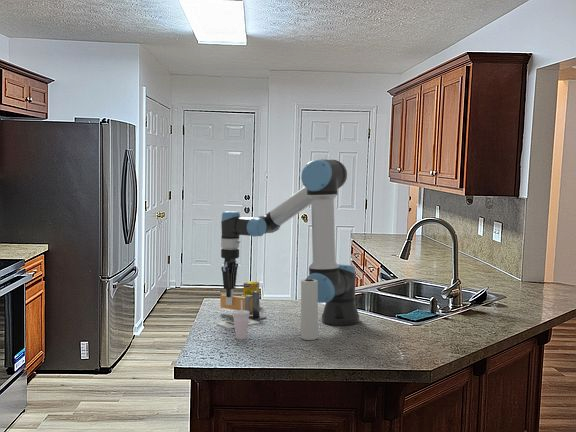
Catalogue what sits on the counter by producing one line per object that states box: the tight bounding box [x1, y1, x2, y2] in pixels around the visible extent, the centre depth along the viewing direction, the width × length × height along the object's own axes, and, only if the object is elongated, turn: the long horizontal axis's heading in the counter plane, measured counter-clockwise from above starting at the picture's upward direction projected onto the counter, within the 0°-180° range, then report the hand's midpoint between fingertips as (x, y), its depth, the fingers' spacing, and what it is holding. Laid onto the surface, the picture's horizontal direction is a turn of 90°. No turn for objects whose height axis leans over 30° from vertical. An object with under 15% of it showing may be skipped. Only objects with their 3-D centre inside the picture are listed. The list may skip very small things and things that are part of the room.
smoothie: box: [231, 300, 251, 340], centre depth 238 cm, size 6×6×14 cm
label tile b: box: [216, 320, 235, 330], centre depth 258 cm, size 9×6×1 cm, turn 37°
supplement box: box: [242, 280, 260, 303], centre depth 293 cm, size 6×6×11 cm
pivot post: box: [249, 290, 267, 321], centre depth 270 cm, size 6×6×11 cm
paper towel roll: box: [300, 278, 319, 341], centre depth 238 cm, size 7×6×21 cm
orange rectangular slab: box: [219, 293, 253, 316], centre depth 276 cm, size 16×2×8 cm, turn 57°
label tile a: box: [248, 319, 261, 327], centre depth 263 cm, size 9×6×1 cm, turn 37°
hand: (229, 304), depth 275 cm, fingers closed
